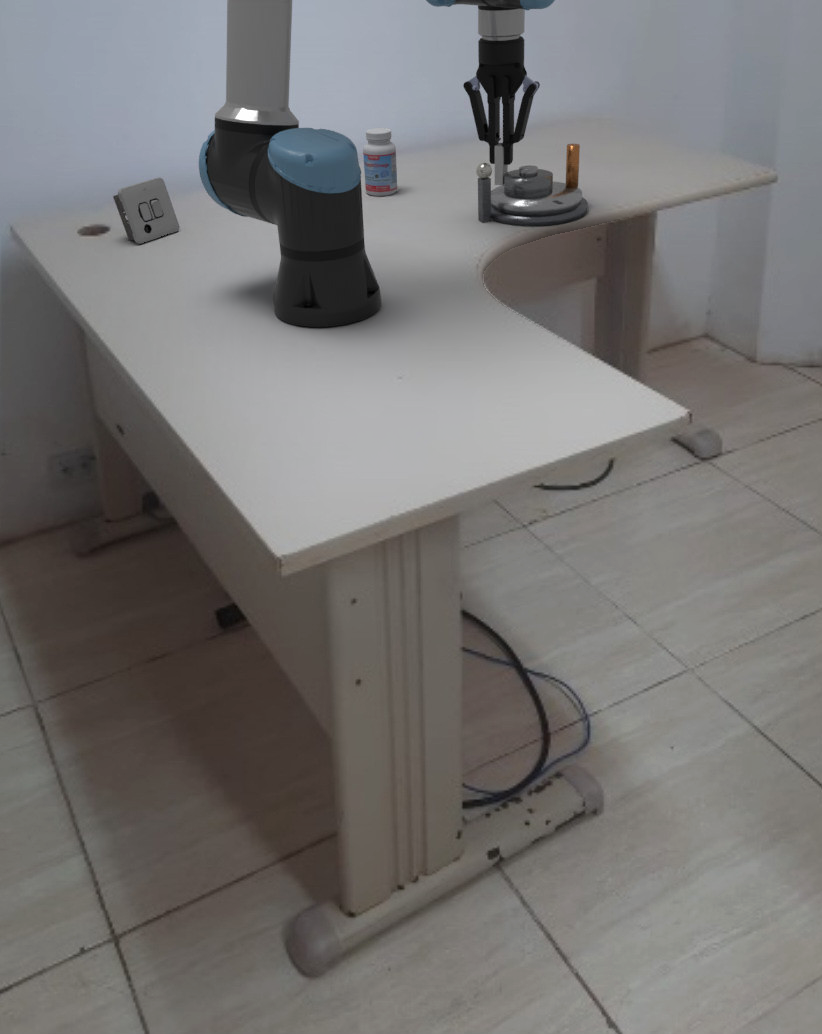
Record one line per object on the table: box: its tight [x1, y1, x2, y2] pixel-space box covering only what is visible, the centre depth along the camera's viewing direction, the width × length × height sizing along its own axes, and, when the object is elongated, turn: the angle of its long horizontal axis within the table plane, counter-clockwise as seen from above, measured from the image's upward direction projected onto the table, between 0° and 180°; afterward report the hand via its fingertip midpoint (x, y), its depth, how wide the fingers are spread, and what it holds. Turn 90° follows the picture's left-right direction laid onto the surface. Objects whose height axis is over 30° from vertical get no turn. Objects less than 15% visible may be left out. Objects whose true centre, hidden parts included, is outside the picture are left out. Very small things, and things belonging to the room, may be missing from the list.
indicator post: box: [476, 162, 493, 223], centre depth 179 cm, size 3×3×10 cm
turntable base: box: [491, 196, 589, 227], centre depth 185 cm, size 18×18×1 cm
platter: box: [491, 143, 583, 215], centre depth 182 cm, size 16×17×8 cm
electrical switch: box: [112, 177, 180, 245], centre depth 181 cm, size 9×5×9 cm, turn 141°
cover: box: [504, 164, 554, 199], centre depth 183 cm, size 8×8×4 cm
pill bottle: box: [362, 127, 398, 197], centre depth 197 cm, size 6×6×11 cm
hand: (501, 182), depth 185 cm, fingers closed
